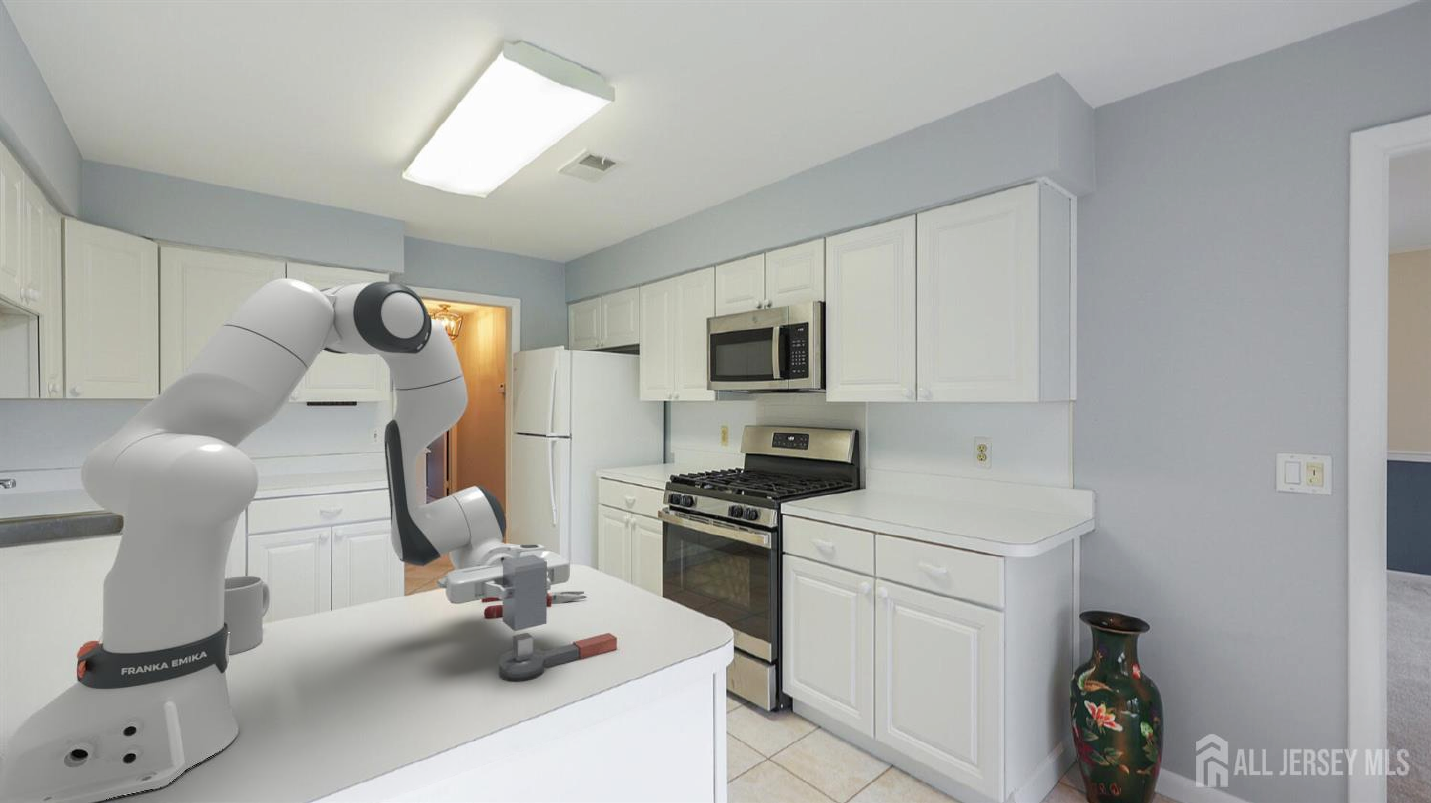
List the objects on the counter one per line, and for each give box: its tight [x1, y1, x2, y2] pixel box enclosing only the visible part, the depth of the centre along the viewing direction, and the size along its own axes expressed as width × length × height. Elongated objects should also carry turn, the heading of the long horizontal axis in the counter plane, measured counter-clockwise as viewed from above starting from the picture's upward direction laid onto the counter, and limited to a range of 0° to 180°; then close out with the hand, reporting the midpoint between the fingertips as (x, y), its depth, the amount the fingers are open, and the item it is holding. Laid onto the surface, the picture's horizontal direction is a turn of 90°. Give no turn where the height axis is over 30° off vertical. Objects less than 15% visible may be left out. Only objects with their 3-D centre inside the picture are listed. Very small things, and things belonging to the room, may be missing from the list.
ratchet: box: [498, 632, 618, 682], centre depth 102 cm, size 20×7×6 cm, turn 129°
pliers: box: [481, 590, 587, 619], centre depth 130 cm, size 12×21×3 cm, turn 113°
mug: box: [224, 575, 271, 656], centre depth 107 cm, size 12×8×11 cm
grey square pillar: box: [502, 555, 548, 632], centre depth 98 cm, size 5×5×10 cm
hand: (526, 589), depth 98 cm, fingers closed on grey square pillar, 5 cm apart
